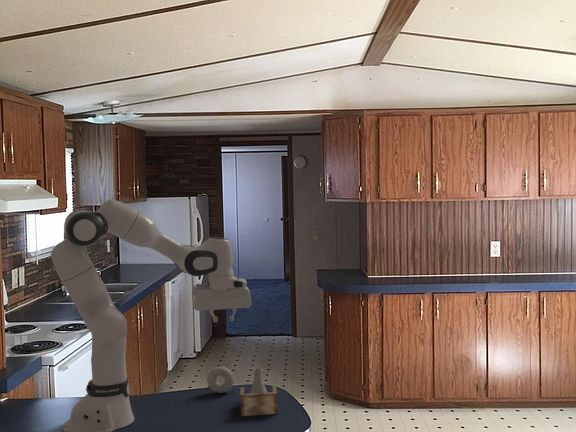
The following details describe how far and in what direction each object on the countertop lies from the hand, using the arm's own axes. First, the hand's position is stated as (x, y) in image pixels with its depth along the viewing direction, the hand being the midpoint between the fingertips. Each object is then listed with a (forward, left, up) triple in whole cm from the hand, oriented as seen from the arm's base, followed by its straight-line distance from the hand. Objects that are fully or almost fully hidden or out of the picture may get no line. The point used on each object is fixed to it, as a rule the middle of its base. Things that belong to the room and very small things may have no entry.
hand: (223, 321), depth 221 cm
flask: (+11, +4, -29) cm, 32 cm away
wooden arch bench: (+11, -8, -29) cm, 32 cm away
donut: (-3, +11, -29) cm, 32 cm away
